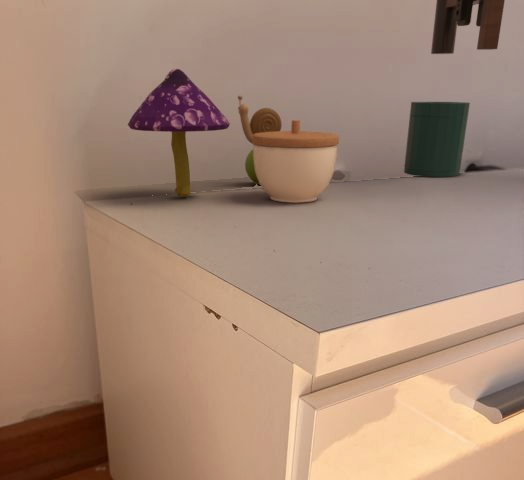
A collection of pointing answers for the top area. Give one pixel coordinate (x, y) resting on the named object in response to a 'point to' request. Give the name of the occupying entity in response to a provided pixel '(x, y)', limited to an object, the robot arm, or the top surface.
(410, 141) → the jar
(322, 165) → the trinket box
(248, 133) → the snail figurine
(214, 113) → the decorative mushroom
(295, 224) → the top surface
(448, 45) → the brown wooden arch
